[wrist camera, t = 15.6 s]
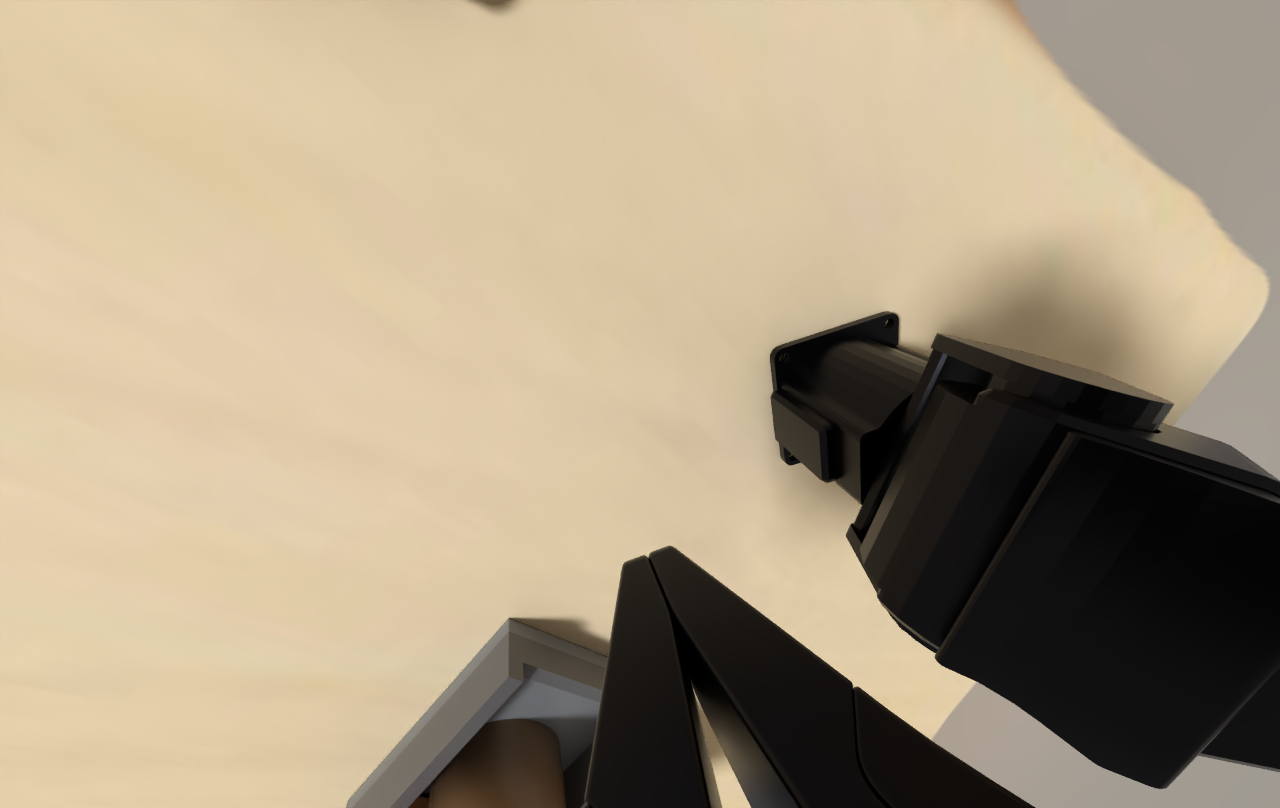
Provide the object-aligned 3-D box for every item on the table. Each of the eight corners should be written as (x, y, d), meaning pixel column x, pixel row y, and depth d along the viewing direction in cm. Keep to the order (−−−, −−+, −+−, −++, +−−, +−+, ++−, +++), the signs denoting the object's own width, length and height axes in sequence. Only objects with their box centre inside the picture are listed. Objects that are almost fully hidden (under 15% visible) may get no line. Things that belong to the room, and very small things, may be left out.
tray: (508, 618, 24) (508, 759, 18) (654, 675, 29) (693, 803, 22) (348, 800, 26) (299, 981, 20) (507, 826, 31) (507, 979, 25)
